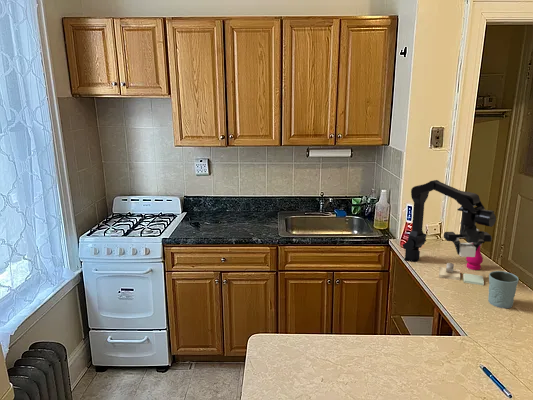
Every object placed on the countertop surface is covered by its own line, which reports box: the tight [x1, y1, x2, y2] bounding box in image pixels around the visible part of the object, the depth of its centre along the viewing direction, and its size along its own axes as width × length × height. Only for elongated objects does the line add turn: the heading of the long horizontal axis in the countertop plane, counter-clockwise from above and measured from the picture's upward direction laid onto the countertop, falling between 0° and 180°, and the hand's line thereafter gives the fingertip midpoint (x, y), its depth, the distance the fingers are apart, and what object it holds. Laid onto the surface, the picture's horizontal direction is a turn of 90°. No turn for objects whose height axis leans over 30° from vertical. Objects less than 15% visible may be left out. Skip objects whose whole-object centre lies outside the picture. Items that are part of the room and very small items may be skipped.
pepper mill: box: [465, 228, 484, 271], centre depth 190 cm, size 7×7×20 cm
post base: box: [438, 262, 461, 281], centre depth 184 cm, size 9×9×6 cm
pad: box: [462, 273, 485, 286], centre depth 179 cm, size 8×8×1 cm
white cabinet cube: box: [459, 242, 476, 258], centre depth 178 cm, size 6×6×5 cm
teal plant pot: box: [487, 270, 520, 309], centre depth 157 cm, size 10×10×12 cm
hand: (465, 254), depth 178 cm, fingers closed on white cabinet cube, 6 cm apart
